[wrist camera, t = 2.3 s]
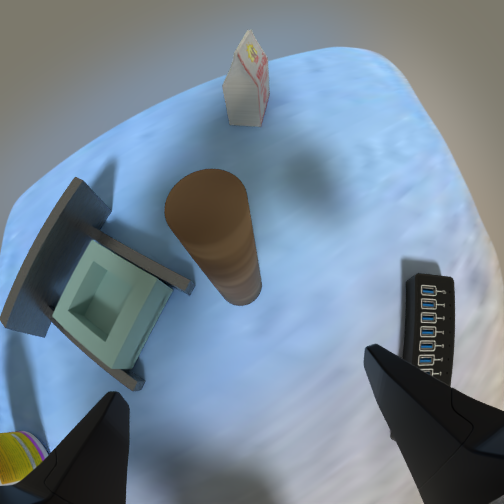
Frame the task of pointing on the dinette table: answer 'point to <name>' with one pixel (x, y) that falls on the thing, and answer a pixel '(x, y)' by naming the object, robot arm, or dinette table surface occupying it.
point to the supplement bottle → (19, 456)
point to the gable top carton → (247, 84)
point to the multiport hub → (430, 325)
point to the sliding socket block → (111, 306)
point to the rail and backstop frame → (71, 268)
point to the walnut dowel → (217, 231)
